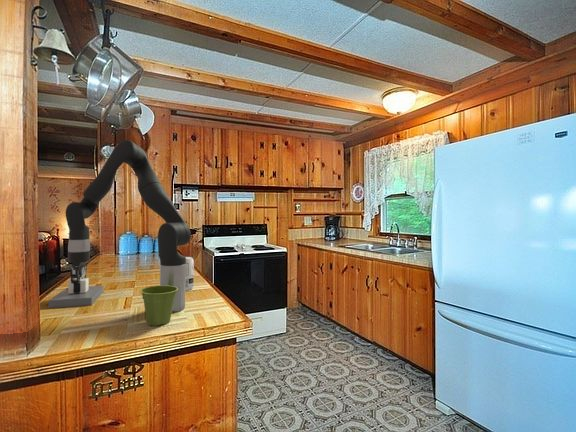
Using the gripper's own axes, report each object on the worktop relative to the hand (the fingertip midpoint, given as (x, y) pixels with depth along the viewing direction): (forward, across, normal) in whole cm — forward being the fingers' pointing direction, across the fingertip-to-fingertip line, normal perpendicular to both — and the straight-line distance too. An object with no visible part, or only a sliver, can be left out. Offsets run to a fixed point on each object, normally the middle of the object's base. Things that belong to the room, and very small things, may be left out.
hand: (78, 290), depth 126 cm
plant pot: (+4, -37, -33) cm, 50 cm away
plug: (+2, 0, 0) cm, 2 cm away
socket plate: (+4, 0, 0) cm, 4 cm away
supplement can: (+4, +7, -42) cm, 43 cm away
